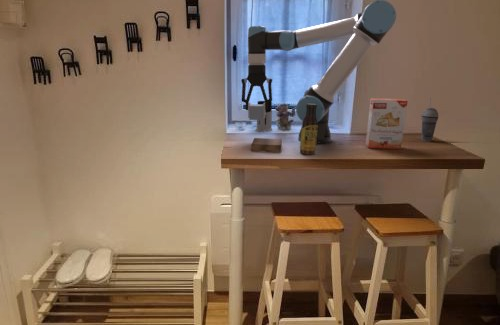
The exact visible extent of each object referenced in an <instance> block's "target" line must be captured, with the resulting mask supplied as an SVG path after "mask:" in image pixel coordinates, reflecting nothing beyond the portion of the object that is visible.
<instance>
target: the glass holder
mask: <svg viewBox="0 0 500 325" xmlns="http://www.w3.org/2000/svg"><path fill="white" fill-rule="evenodd" d="M263 103H265V101H264V100H258V101H257V104H263ZM272 107H273V102H272V101H271V102H269V103H268V110H265V118H264V119H263V120H256V129H255V130H256V131H257V132H263V133H264V132H265V133H266V132H272V131H273V128H272V124H273V123H272V122H273V119H272V118H273V110H272V109H273V108H272Z"/></svg>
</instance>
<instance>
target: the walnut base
mask: <svg viewBox="0 0 500 325" xmlns="http://www.w3.org/2000/svg"><path fill="white" fill-rule="evenodd" d="M282 140H283V138H268V137H267V138H266V137H265V138H262V137H254V138H253V140H252V142H251V145H250V146H251V147H250V148H251V149H250V150H251V152H259V151H266V152H267V153H281V152H282V143H283V141H282ZM266 152H265V153H266Z"/></svg>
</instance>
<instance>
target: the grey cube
mask: <svg viewBox="0 0 500 325" xmlns="http://www.w3.org/2000/svg"><path fill="white" fill-rule="evenodd" d="M248 119H249V121H251V120H253V121H254V120H255V121H257V120H263V119H264V118H263V104H258V103H257V104H255V103H254V104H252V103H251V105H250V106H249V118H248Z"/></svg>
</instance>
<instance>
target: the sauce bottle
mask: <svg viewBox="0 0 500 325" xmlns="http://www.w3.org/2000/svg"><path fill="white" fill-rule="evenodd" d="M306 107H307V110H306V116H305V118H304V120H303V121H302V122H301V123H302V125H301V127H302V131H301V141H300V145H299V151H300V154H302V155H309V156H310V155H311V156H312V155H315V153H316V151H317V150H316V149H317V143H316V140H317V129H318V124H317V118H316V108H317V104H307V105H306Z"/></svg>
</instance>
